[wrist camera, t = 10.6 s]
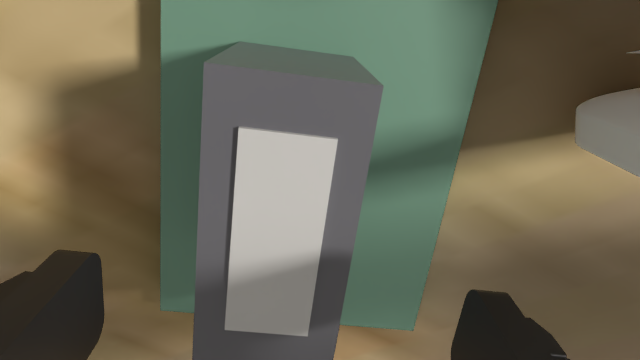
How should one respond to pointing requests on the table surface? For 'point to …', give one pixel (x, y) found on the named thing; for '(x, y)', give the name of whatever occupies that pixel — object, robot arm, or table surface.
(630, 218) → the table surface
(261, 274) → the block
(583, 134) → the white socket shroud
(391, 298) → the board
